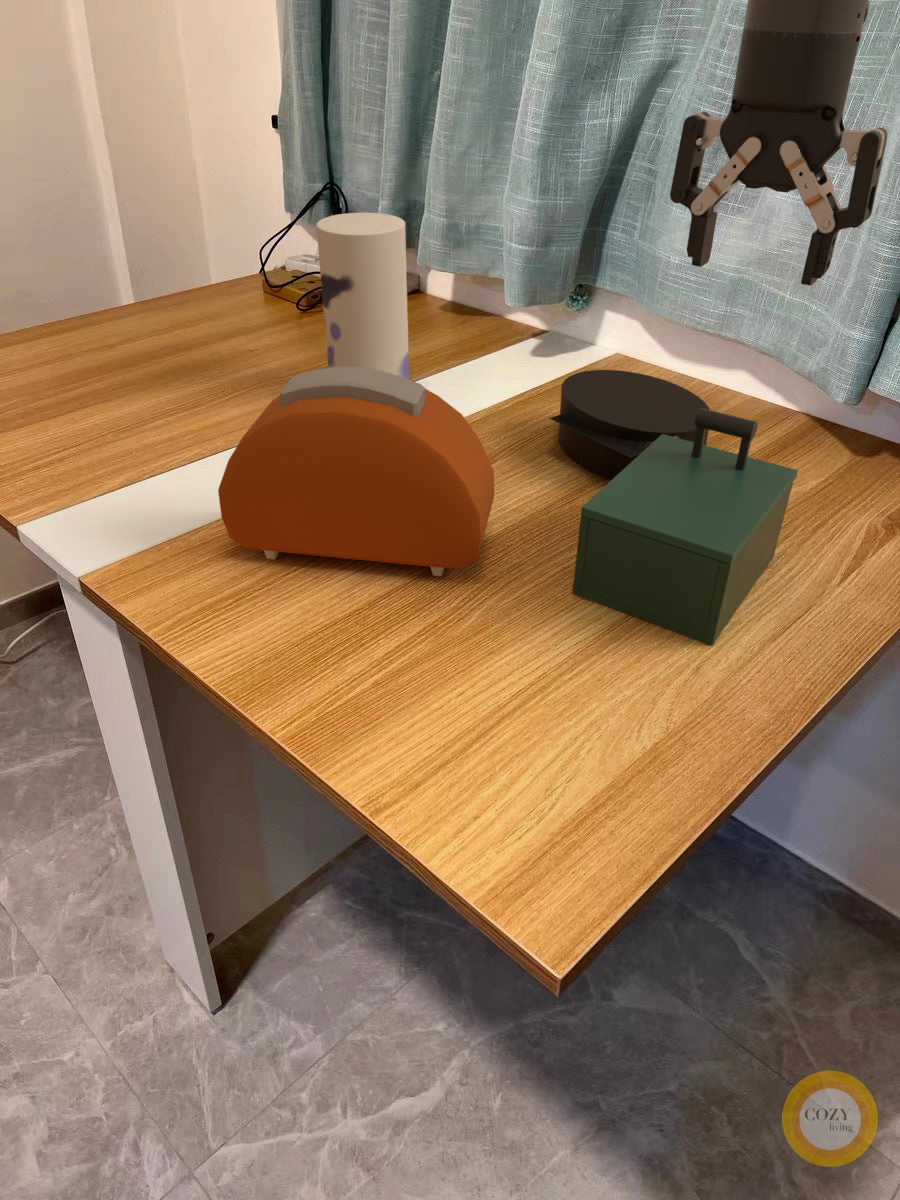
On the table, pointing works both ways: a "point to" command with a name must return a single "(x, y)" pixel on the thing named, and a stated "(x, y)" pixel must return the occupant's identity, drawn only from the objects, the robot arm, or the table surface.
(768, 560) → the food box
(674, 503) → the lid
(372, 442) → the orange toaster
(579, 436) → the waffle maker
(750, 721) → the table surface
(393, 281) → the container
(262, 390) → the table surface
